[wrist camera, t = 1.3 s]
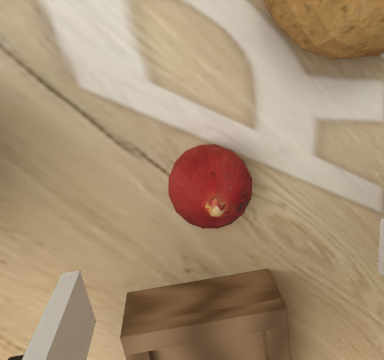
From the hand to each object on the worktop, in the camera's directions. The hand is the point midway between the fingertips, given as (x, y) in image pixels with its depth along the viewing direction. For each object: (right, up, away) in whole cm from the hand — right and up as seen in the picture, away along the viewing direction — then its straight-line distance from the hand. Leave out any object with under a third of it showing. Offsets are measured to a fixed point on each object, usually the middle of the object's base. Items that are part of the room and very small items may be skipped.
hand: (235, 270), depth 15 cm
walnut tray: (0, -11, +18) cm, 22 cm away
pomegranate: (-1, +5, +13) cm, 14 cm away
